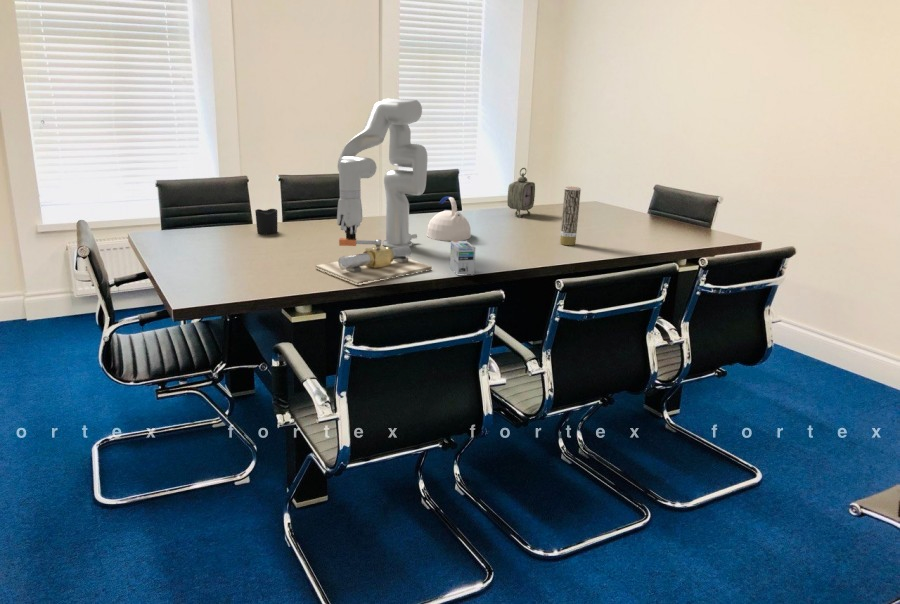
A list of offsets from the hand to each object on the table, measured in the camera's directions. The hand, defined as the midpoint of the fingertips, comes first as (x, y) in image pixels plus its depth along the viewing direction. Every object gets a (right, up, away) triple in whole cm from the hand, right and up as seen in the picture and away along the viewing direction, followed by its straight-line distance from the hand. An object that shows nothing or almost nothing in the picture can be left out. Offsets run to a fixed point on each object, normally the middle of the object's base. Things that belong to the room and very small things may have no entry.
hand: (350, 243), depth 255 cm
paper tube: (+89, +4, +50) cm, 102 cm away
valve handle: (+4, -1, -3) cm, 5 cm away
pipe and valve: (+9, -9, -1) cm, 13 cm away
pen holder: (-45, +9, +51) cm, 68 cm away
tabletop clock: (+74, +24, +109) cm, 133 cm away
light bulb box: (+41, -11, +2) cm, 43 cm away
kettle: (+36, +8, +57) cm, 68 cm away
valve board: (+9, -10, 0) cm, 13 cm away
